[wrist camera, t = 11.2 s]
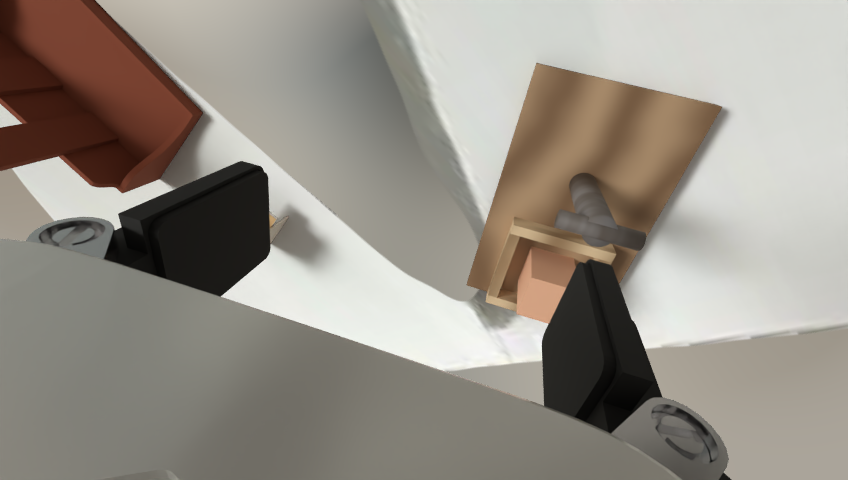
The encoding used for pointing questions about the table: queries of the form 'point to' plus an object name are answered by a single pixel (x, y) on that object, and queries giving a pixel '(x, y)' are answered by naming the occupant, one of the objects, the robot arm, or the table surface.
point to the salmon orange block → (543, 283)
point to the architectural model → (278, 226)
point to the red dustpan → (86, 95)
